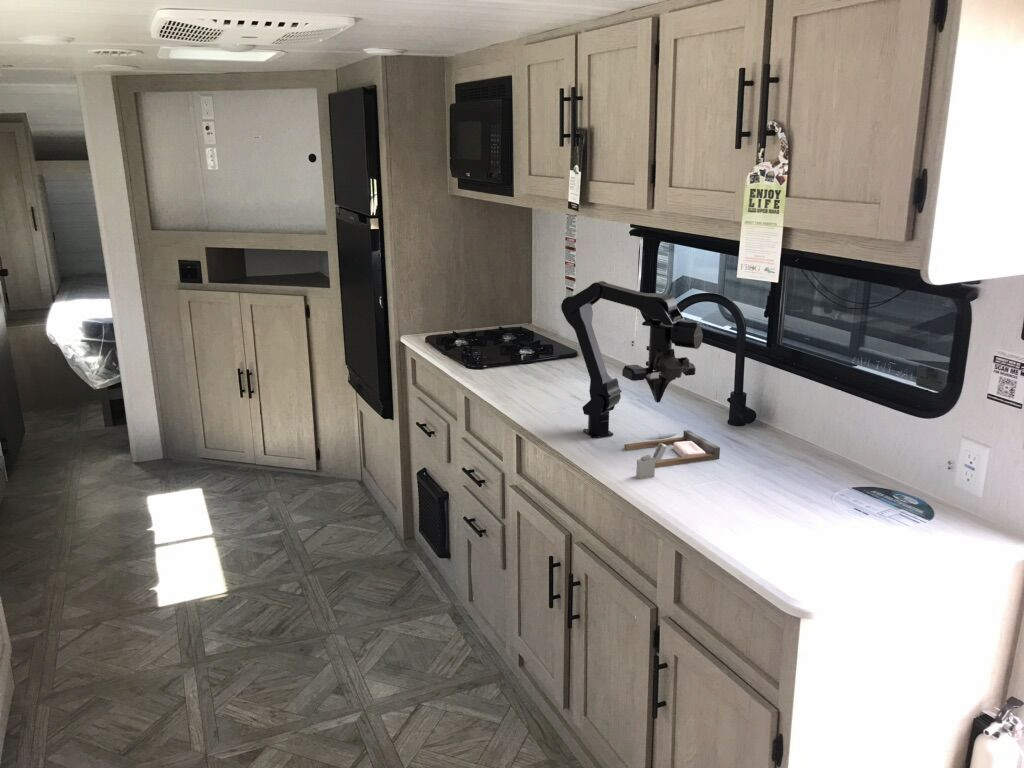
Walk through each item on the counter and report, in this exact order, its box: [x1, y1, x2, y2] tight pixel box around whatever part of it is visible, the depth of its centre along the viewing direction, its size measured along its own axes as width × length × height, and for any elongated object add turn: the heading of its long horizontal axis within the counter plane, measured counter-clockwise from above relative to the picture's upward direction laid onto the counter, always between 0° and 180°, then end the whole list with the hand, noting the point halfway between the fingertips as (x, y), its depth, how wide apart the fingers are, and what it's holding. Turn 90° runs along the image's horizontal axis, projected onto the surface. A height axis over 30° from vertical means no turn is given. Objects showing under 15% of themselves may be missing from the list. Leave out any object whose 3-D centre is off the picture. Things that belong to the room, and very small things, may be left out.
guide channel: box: [623, 429, 721, 469], centre depth 222 cm, size 15×19×3 cm
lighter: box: [635, 443, 668, 479], centre depth 206 cm, size 7×2×8 cm, turn 107°
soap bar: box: [672, 441, 706, 457], centre depth 222 cm, size 5×9×2 cm, turn 11°
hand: (657, 402), depth 225 cm, fingers closed
